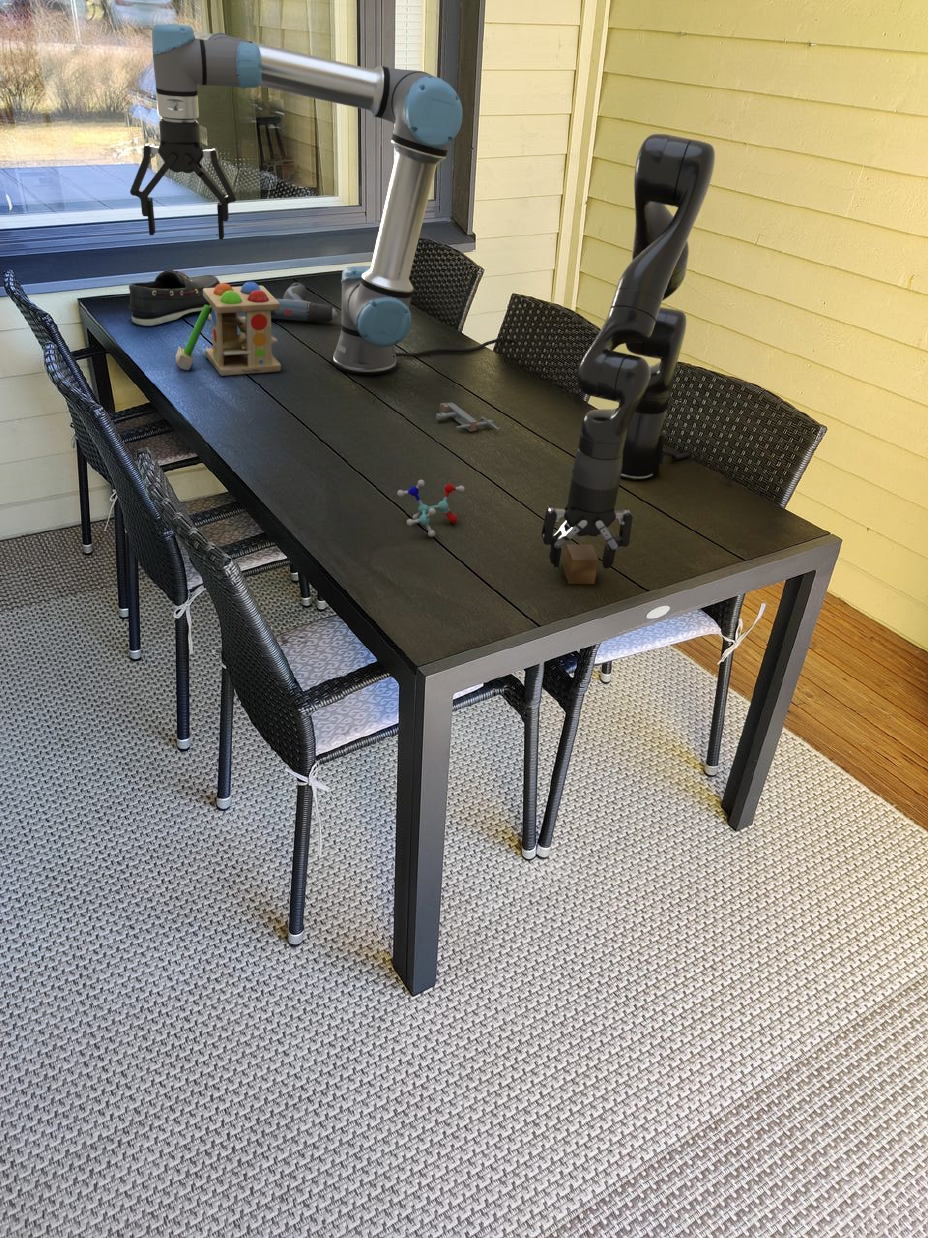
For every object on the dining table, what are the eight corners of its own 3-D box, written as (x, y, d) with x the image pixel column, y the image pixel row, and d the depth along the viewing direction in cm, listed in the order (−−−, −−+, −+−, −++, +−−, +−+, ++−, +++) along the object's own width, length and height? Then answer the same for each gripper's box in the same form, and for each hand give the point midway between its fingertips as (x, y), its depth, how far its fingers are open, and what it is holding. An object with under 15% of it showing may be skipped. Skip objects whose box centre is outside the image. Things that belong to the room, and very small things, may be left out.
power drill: (344, 304, 276) (335, 327, 259) (277, 298, 275) (264, 321, 258) (344, 285, 273) (335, 306, 256) (277, 279, 272) (264, 300, 255)
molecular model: (455, 530, 166) (436, 473, 165) (406, 545, 170) (387, 490, 168) (476, 520, 177) (458, 467, 175) (430, 535, 180) (412, 483, 179)
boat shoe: (241, 304, 270) (238, 265, 264) (149, 328, 246) (144, 285, 240) (207, 295, 275) (204, 257, 270) (113, 318, 251) (108, 276, 246)
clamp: (428, 404, 215) (467, 399, 219) (427, 414, 216) (466, 408, 220) (462, 431, 204) (502, 425, 209) (461, 441, 205) (501, 434, 210)
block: (568, 583, 162) (572, 559, 160) (562, 568, 166) (566, 544, 164) (594, 584, 163) (598, 559, 160) (588, 568, 167) (592, 544, 164)
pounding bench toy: (183, 379, 220) (176, 299, 210) (169, 357, 231) (162, 280, 221) (282, 371, 230) (280, 294, 220) (264, 350, 240) (262, 276, 230)
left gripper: (106, 116, 181) (119, 236, 193) (244, 127, 185) (248, 244, 197) (114, 110, 188) (126, 227, 200) (247, 121, 191) (251, 234, 203)
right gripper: (556, 486, 150) (542, 576, 159) (645, 489, 152) (627, 578, 161) (547, 465, 156) (534, 553, 165) (634, 468, 158) (616, 555, 167)
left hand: (187, 235), depth 198 cm, fingers open, 13 cm apart
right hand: (580, 565), depth 163 cm, fingers open, 8 cm apart
